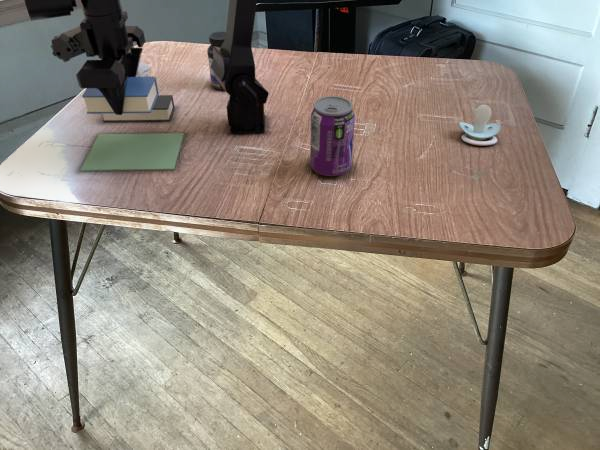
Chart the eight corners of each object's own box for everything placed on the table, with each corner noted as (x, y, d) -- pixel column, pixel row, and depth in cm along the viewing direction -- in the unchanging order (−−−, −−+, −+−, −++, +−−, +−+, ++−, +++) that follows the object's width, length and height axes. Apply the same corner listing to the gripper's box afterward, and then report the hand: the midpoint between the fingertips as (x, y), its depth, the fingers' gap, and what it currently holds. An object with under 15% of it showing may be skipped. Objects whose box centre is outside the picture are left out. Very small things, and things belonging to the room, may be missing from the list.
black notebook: (174, 107, 111) (172, 95, 109) (170, 121, 107) (167, 108, 105) (110, 108, 111) (107, 95, 109) (103, 122, 106) (100, 109, 105)
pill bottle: (241, 79, 121) (238, 30, 114) (236, 91, 116) (232, 41, 109) (214, 78, 121) (209, 29, 114) (208, 90, 117) (202, 40, 110)
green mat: (184, 134, 103) (183, 133, 102) (174, 170, 93) (173, 168, 93) (99, 135, 102) (98, 134, 102) (80, 171, 93) (80, 169, 93)
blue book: (158, 93, 95) (155, 76, 93) (150, 113, 90) (147, 95, 88) (98, 94, 95) (94, 77, 93) (87, 113, 90) (82, 95, 88)
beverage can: (348, 181, 91) (352, 117, 83) (306, 177, 92) (307, 113, 84) (353, 159, 96) (358, 96, 88) (314, 154, 97) (315, 92, 89)
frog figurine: (121, 83, 120) (114, 52, 115) (154, 80, 121) (148, 50, 116) (120, 95, 115) (112, 64, 111) (153, 92, 116) (147, 61, 112)
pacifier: (500, 149, 99) (495, 131, 103) (509, 118, 94) (503, 101, 99) (459, 146, 99) (456, 129, 104) (466, 116, 95) (462, 99, 100)
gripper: (68, -9, 89) (92, 80, 99) (26, 33, 75) (58, 132, 85) (136, -9, 90) (153, 79, 100) (106, 32, 75) (130, 131, 85)
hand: (124, 103), depth 92 cm, fingers closed on blue book, 7 cm apart
